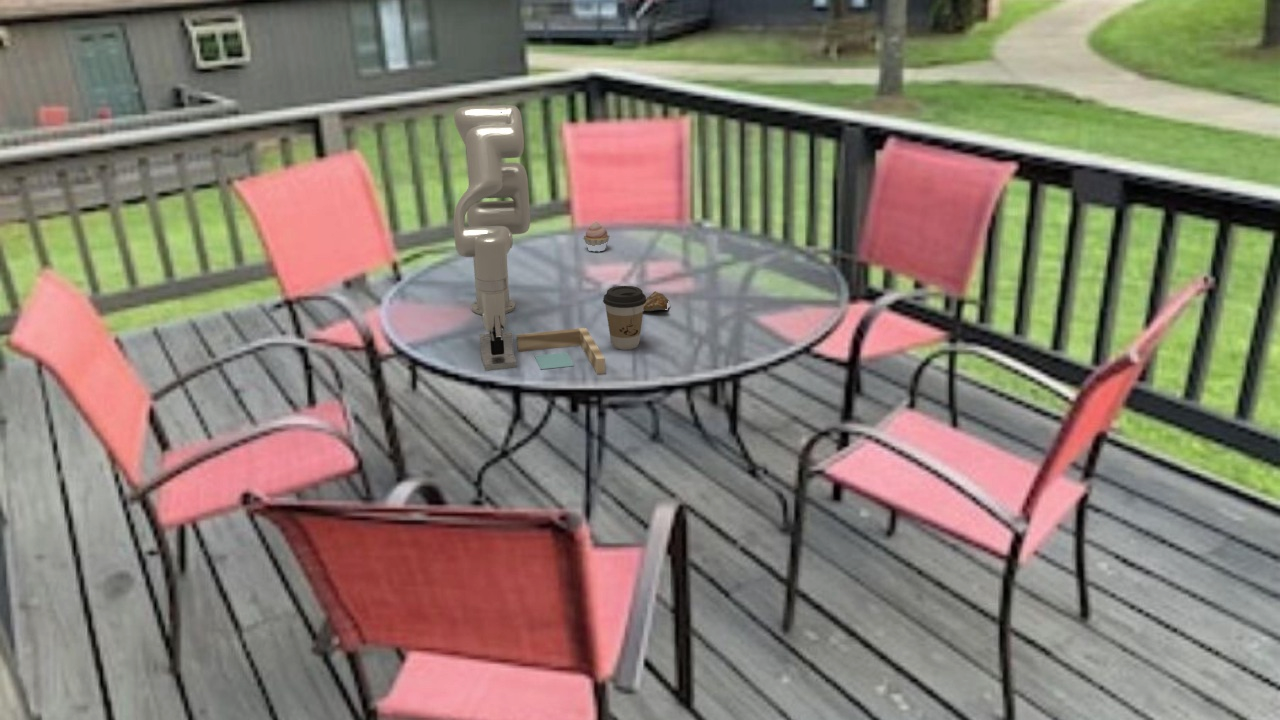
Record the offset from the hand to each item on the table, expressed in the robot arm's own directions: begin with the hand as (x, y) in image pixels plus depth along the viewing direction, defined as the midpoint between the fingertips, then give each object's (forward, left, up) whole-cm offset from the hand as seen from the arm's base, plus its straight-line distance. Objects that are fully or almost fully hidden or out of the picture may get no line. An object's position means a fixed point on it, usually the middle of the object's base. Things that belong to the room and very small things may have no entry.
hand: (497, 351), depth 254 cm
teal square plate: (+5, +14, -2) cm, 15 cm away
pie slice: (-27, +49, -3) cm, 56 cm away
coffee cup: (-1, +34, -2) cm, 34 cm away
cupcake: (-89, +46, -2) cm, 101 cm away
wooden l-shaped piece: (+5, +15, -2) cm, 16 cm away
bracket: (+3, 0, -2) cm, 3 cm away
